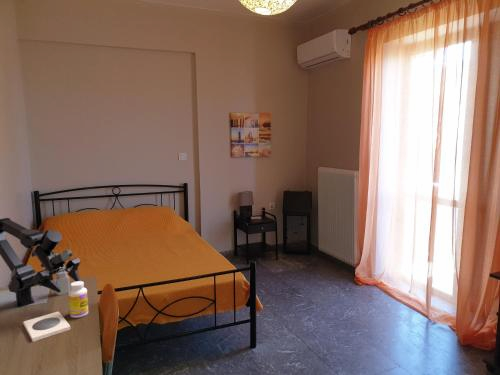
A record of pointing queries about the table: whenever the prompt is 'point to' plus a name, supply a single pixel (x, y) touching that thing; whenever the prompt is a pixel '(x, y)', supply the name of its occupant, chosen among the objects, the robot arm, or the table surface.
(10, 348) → the table surface
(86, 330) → the table surface
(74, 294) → the supplement bottle
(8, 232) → the robot arm
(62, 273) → the power adapter
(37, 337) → the base
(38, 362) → the table surface
